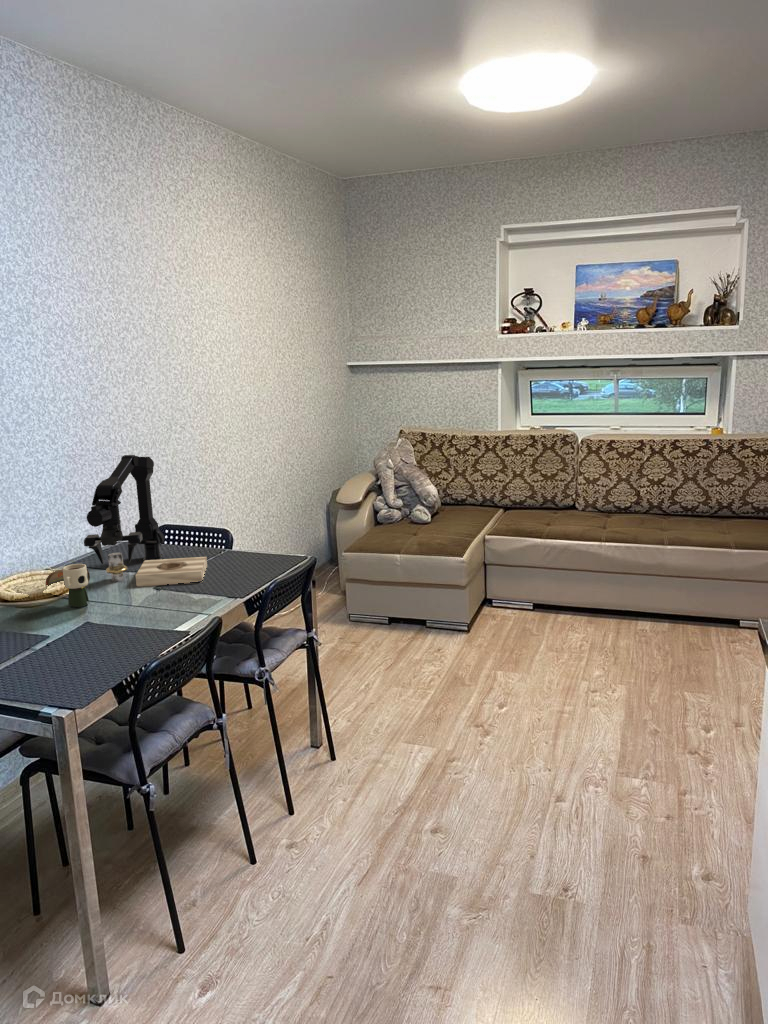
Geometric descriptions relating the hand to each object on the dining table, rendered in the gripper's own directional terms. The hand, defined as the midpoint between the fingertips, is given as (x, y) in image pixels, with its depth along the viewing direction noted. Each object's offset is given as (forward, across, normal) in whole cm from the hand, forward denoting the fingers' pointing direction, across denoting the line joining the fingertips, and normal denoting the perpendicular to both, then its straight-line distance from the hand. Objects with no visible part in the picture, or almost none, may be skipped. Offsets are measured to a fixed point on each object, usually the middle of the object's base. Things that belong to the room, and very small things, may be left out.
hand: (116, 562), depth 274 cm
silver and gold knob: (+6, 0, 0) cm, 6 cm away
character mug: (+6, -7, -25) cm, 27 cm away
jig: (+6, +19, 0) cm, 20 cm away
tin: (+7, -14, -10) cm, 18 cm away
